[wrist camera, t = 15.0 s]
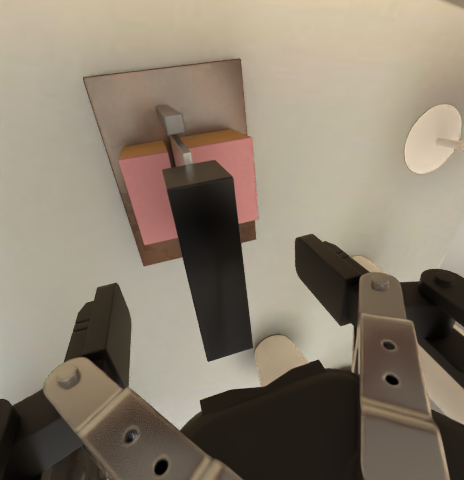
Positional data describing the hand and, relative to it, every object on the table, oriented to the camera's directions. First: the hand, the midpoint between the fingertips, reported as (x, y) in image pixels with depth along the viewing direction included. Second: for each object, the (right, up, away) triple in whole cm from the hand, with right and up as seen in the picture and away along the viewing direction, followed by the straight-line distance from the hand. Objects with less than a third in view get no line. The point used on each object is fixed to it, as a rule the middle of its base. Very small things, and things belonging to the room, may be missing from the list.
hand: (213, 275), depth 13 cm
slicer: (-4, +9, +16) cm, 19 cm away
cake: (-4, +8, +15) cm, 17 cm away
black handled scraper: (-3, +5, +9) cm, 10 cm away
